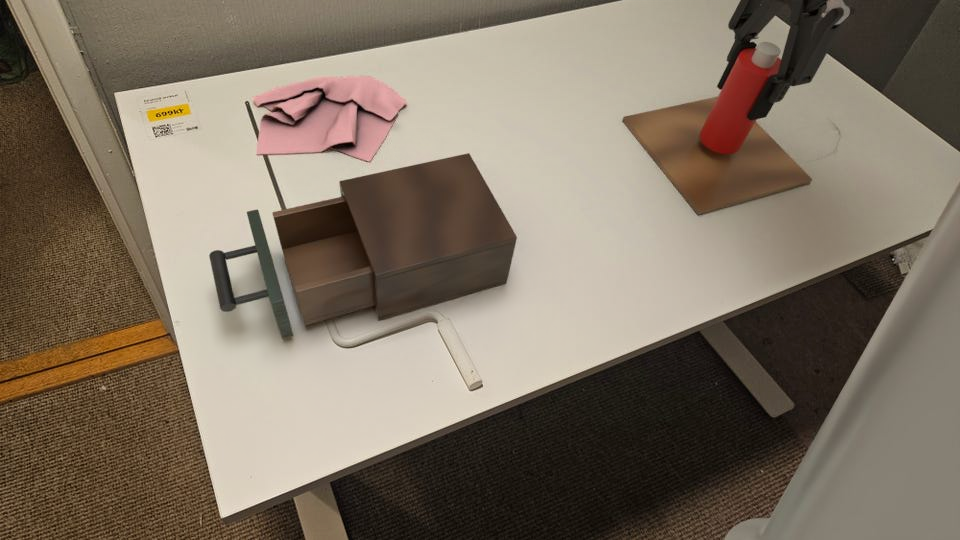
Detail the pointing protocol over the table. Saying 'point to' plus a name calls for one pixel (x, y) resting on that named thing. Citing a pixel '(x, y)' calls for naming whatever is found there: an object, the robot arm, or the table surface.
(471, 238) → the cabinet
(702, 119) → the brown wooden square board
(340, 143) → the cloth
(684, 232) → the table surface
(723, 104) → the red cylinder white end
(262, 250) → the drawer
